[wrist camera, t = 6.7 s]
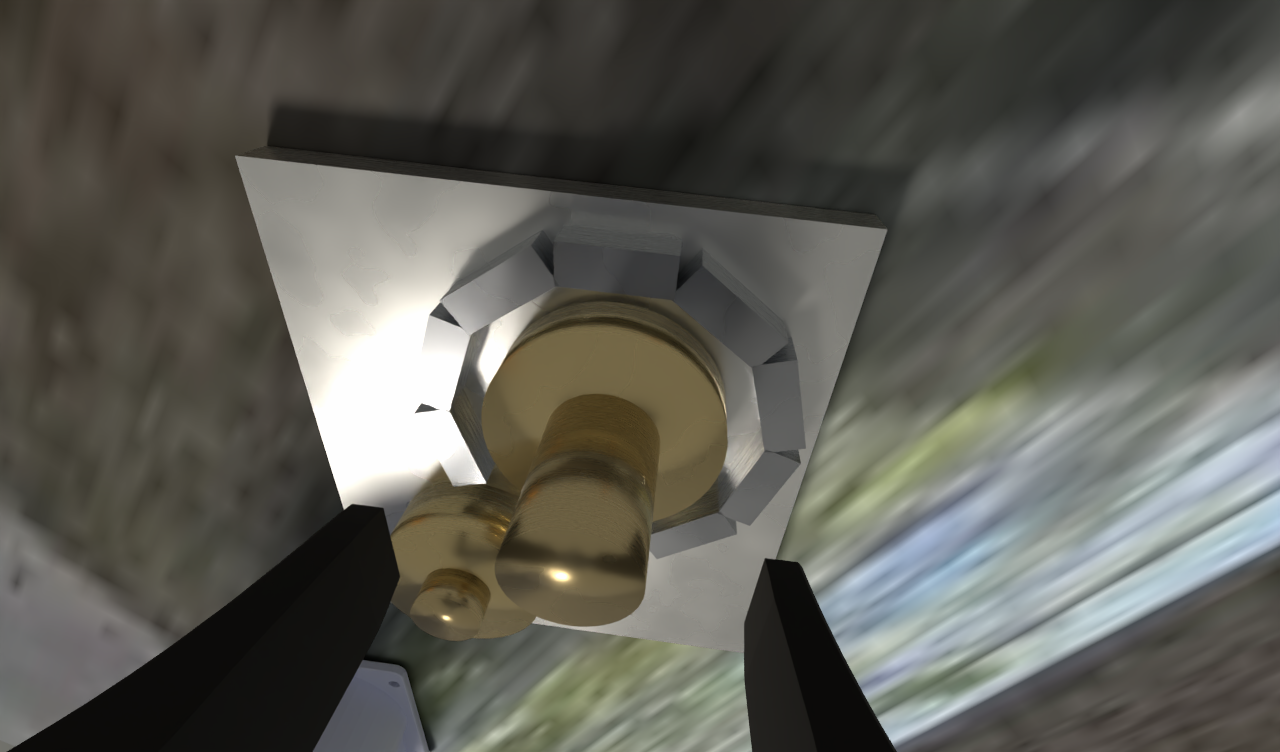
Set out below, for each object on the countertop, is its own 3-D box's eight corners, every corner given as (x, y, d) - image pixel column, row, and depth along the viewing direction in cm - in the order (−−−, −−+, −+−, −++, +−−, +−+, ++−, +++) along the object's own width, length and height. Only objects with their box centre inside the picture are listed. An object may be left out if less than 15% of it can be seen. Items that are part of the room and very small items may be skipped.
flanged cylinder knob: (673, 510, 17) (661, 699, 12) (480, 445, 16) (392, 619, 12) (767, 354, 14) (798, 532, 9) (530, 264, 13) (432, 407, 8)
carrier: (742, 627, 21) (749, 742, 18) (384, 578, 22) (327, 680, 19) (875, 214, 12) (937, 290, 9) (265, 145, 13) (113, 194, 10)
